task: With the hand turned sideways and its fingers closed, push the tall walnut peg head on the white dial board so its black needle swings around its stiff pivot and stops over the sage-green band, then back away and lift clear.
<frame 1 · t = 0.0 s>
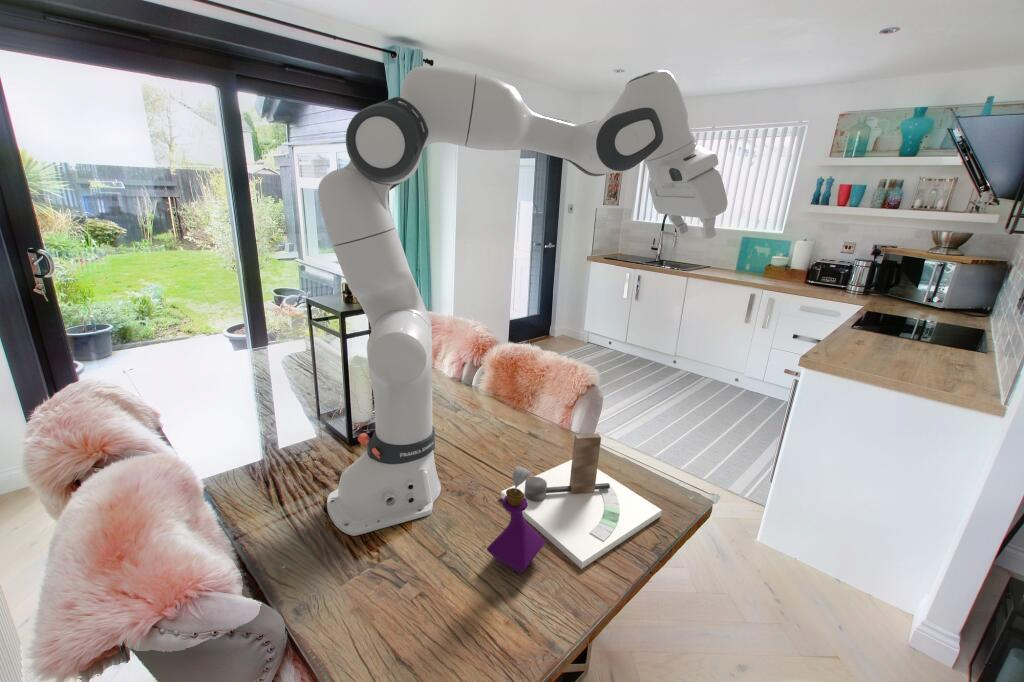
hand: (695, 234, 87), 54 cm above the table, tool tilted 30°, fingers open, 8 cm apart
dial board: (579, 506, 92), on the table
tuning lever: (570, 464, 91), point 8 cm above the table, hinge at 0.0°
perfume bottle: (515, 561, 78), on the table
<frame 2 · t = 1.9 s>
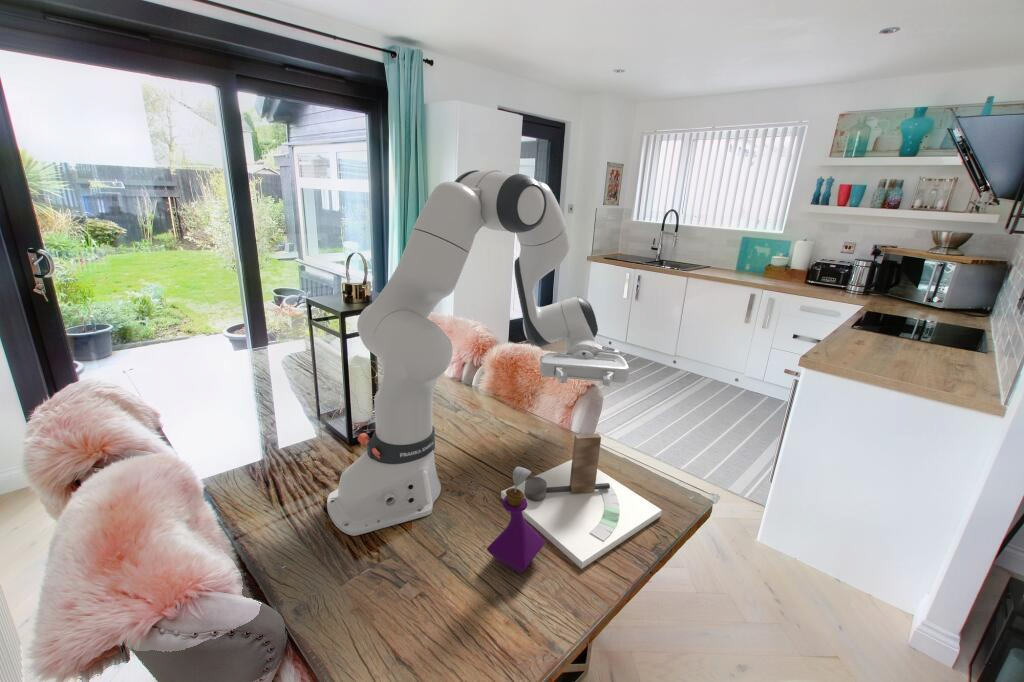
hand: (584, 381, 97), 22 cm above the table, tool horizontal, fingers open, 8 cm apart
nothing on the table moved.
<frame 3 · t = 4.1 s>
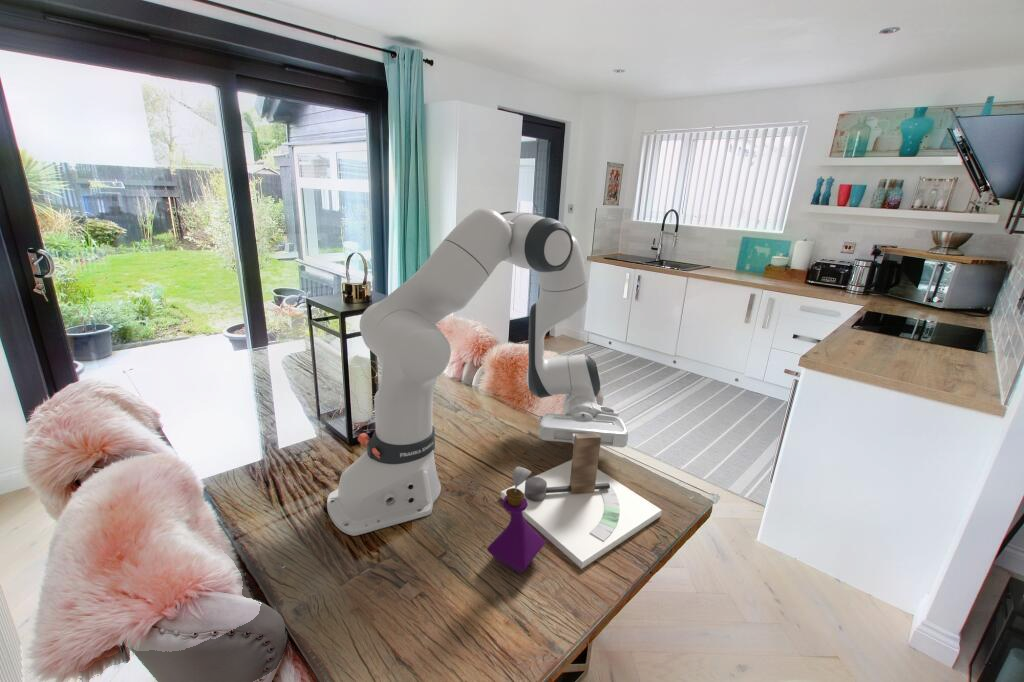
hand: (584, 448, 98), 8 cm above the table, tool horizontal, fingers closed
nothing on the table moved.
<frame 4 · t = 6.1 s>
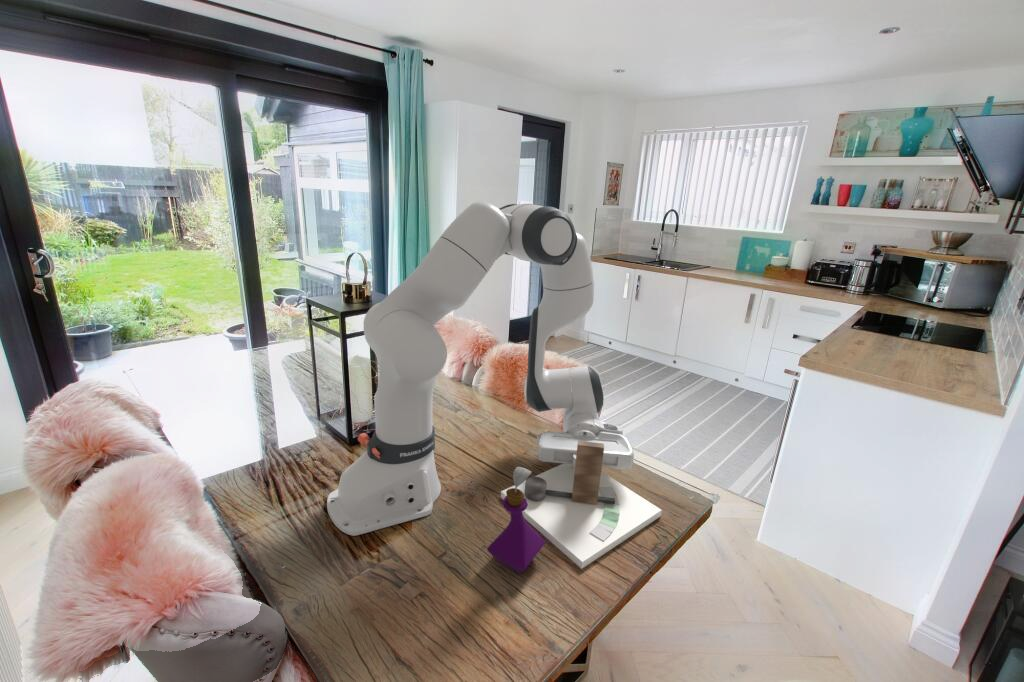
hand: (587, 472, 90), 8 cm above the table, tool horizontal, fingers closed
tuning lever: (571, 471, 89), point 8 cm above the table, hinge at 18.2°, touching gripper
everything else where it was.
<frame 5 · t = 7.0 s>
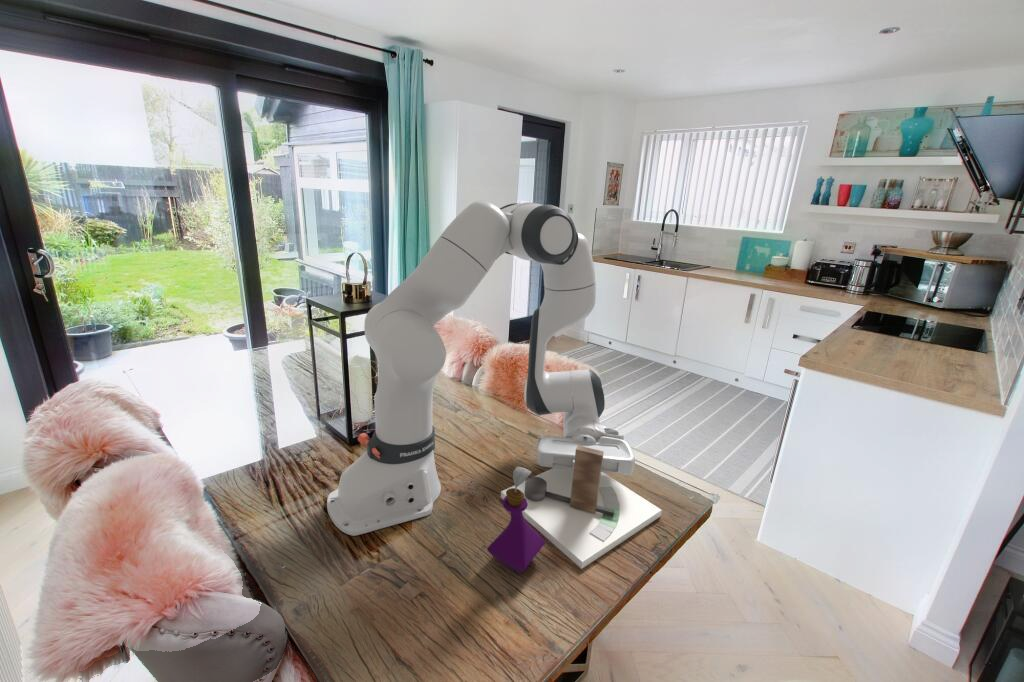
hand: (586, 477, 88), 8 cm above the table, tool horizontal, fingers closed
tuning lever: (570, 475, 88), point 8 cm above the table, hinge at 31.6°, touching gripper
everything else where it was.
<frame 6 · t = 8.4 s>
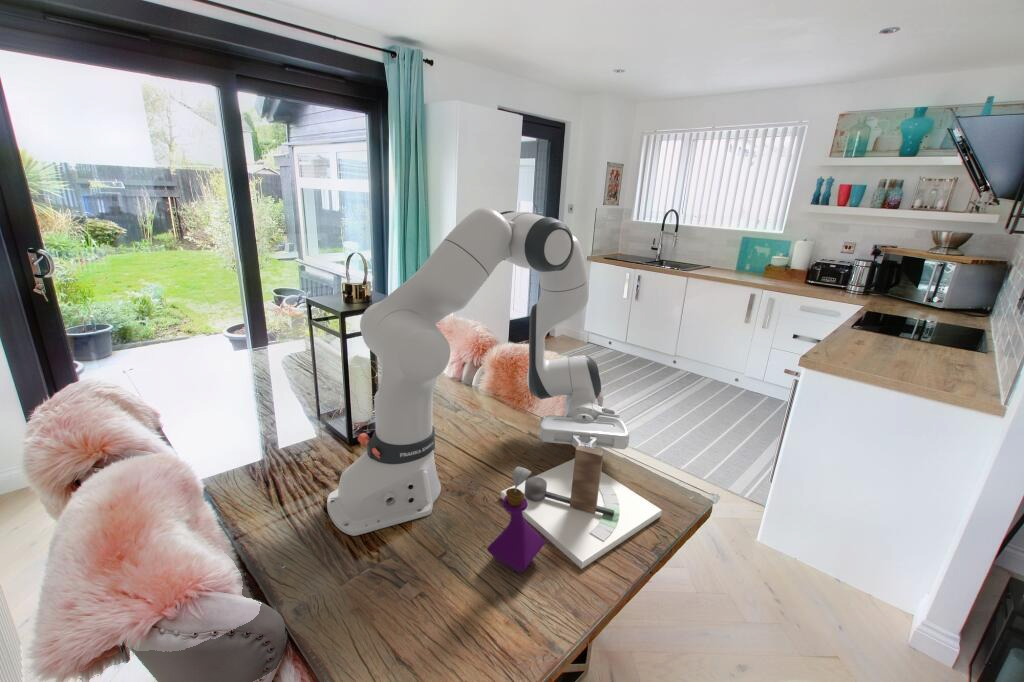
hand: (585, 450, 97), 8 cm above the table, tool horizontal, fingers closed
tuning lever: (570, 475, 88), point 8 cm above the table, hinge at 31.7°
everything else where it was.
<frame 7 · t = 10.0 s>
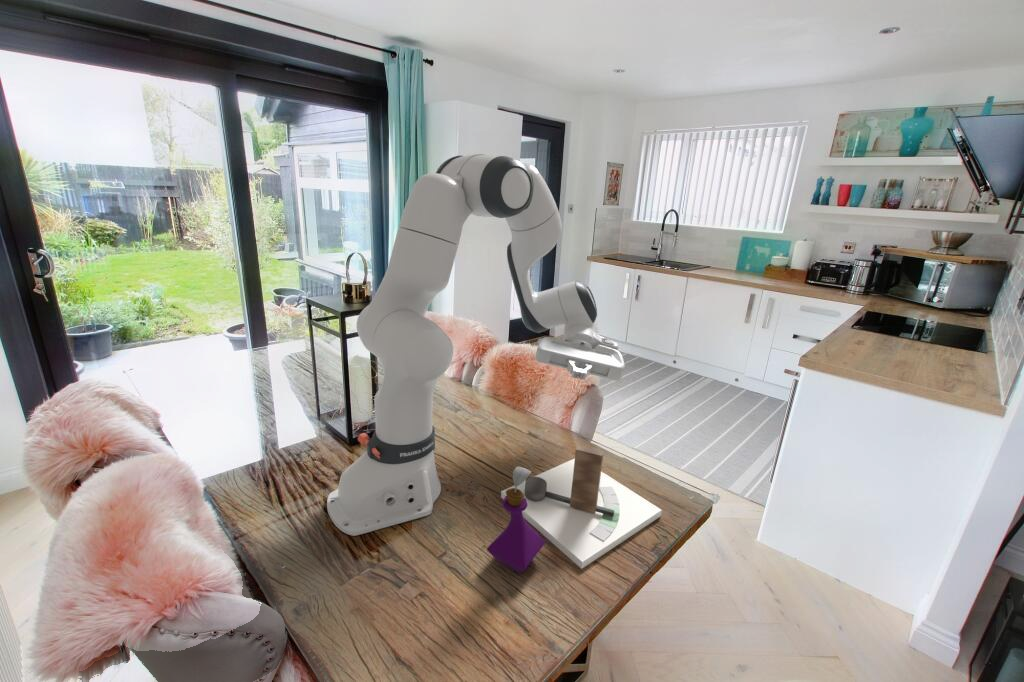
hand: (578, 376, 97), 24 cm above the table, tool horizontal, fingers closed
nothing on the table moved.
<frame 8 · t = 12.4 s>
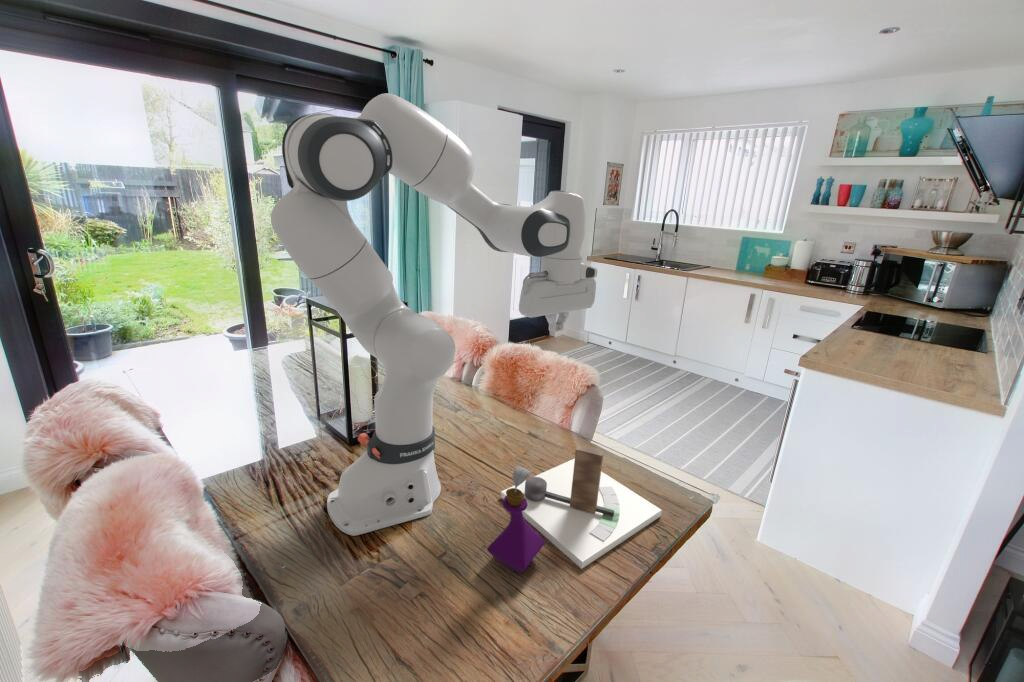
hand: (555, 331, 102), 31 cm above the table, tool pointing down, fingers closed
nothing on the table moved.
at the end: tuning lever at +32° (first picture: +0°) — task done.
